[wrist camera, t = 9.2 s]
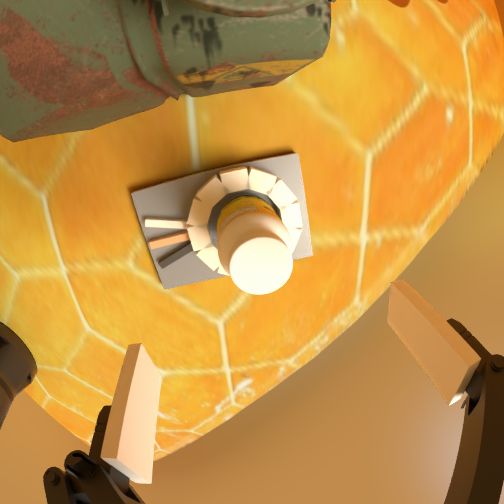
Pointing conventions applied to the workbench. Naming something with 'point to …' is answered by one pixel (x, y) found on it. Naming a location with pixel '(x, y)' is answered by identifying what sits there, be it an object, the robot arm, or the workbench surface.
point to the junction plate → (216, 214)
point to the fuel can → (143, 55)
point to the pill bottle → (253, 244)
